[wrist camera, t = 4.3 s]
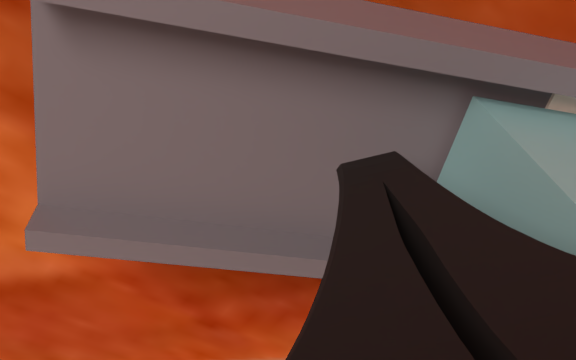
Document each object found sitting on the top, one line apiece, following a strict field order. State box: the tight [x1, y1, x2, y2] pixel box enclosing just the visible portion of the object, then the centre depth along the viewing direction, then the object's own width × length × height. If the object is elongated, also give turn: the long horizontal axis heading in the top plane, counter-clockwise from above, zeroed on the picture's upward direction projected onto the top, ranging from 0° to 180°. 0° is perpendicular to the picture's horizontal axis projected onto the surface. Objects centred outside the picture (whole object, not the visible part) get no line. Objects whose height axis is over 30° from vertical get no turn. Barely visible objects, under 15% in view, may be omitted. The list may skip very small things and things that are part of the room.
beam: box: [25, 0, 576, 278], centre depth 14 cm, size 24×6×6 cm, turn 78°
